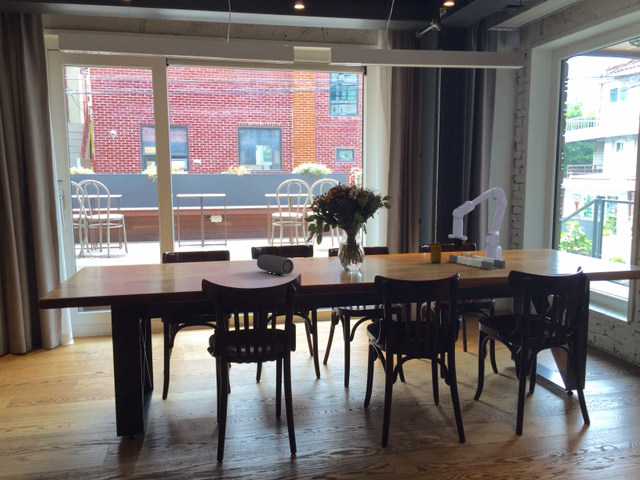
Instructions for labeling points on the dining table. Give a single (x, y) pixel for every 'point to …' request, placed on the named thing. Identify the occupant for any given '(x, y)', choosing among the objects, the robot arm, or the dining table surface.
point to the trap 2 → (496, 267)
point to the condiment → (436, 253)
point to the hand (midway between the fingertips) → (457, 250)
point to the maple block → (469, 255)
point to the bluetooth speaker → (275, 264)
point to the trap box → (477, 261)
